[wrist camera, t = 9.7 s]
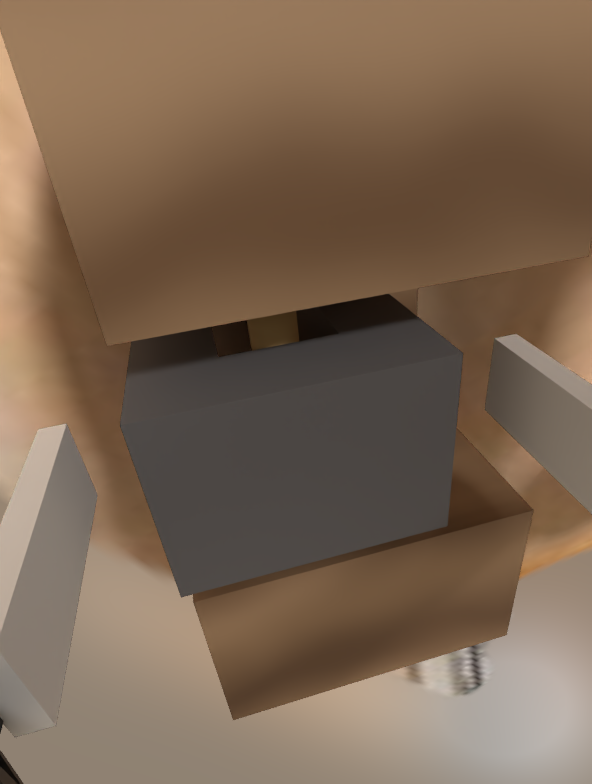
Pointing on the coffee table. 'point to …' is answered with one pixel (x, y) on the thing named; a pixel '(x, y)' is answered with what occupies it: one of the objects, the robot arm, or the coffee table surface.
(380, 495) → the slotted gray cube
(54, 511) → the robot arm
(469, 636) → the wooden block dumbbell
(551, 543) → the coffee table surface
